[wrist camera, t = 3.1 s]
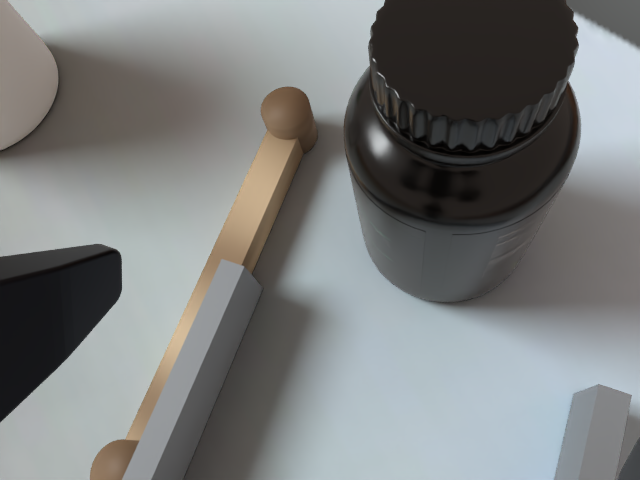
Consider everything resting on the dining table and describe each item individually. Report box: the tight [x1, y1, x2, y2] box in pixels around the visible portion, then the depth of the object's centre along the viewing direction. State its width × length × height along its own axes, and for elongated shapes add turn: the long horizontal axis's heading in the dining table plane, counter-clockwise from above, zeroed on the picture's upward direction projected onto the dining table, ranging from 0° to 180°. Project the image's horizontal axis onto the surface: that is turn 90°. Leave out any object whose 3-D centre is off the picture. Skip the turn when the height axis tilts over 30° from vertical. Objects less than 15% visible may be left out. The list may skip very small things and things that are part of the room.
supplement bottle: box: [344, 0, 581, 302], centre depth 18 cm, size 7×7×12 cm
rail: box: [90, 87, 318, 480], centre depth 23 cm, size 18×2×2 cm, turn 159°
